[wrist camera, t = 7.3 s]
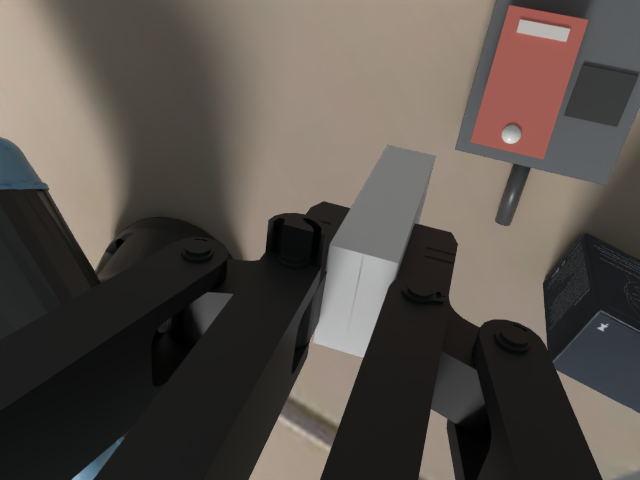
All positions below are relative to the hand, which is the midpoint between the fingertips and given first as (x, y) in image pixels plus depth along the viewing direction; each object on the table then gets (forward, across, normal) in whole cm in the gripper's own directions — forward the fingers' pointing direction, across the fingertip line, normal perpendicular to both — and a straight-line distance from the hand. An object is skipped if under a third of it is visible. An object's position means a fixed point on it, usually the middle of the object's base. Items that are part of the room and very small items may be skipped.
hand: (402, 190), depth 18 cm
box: (+26, +15, -15) cm, 34 cm away
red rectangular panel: (+21, +4, -1) cm, 21 cm away
